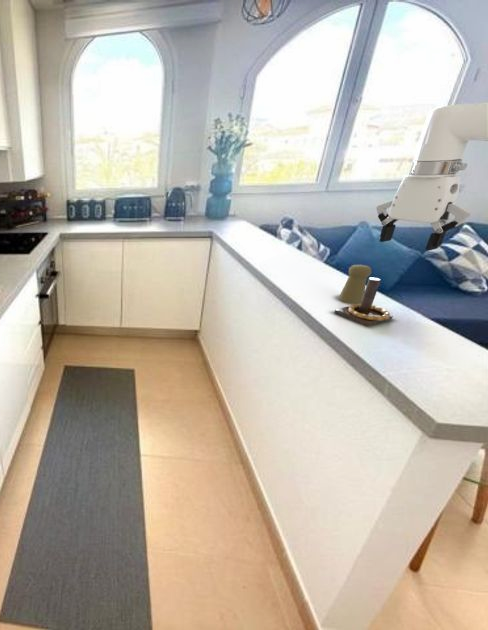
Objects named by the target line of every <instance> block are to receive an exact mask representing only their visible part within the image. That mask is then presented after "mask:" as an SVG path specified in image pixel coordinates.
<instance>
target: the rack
mask: <svg viewBox="0 0 488 630" xmlns="http://www.w3.org/2000/svg"><path fill="white" fill-rule="evenodd" d="M380 283H381V279H380V278H378V277H369V278H368V279H367V282H366V286H365V292H364V295H363V298H362V301H361V303H360V307H359V308H357V309H354V310H355V311H356V312H359V313H362V314H365V315H370V316H383V314H382V313H380V312H377V311H375V310H370V309H371V306H373V303H374V301H375V297H376V295H377V292H378V290H379V287H380ZM349 306H350V305H348V306H344V307H340V308H336V309H335V310H334V314H336V315H338V316H340V317H343V318H345V319H347V320H349V321H353V322H355V323H358V324H359V325H360V324H361V325H363V326H365V327H371V326H374V325H377V324H381V323H385V322H389V321H392V319H393V317H394V316H393V315H391V314H390V317H389V319H386V320H382V321H377V320H367V319H362V318H359V317H357V316H354V315H352V314H351V313H350V312H349V311H348V309H349Z"/></svg>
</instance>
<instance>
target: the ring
mask: <svg viewBox="0 0 488 630" xmlns="http://www.w3.org/2000/svg"><path fill="white" fill-rule="evenodd" d="M360 304H361V303H360ZM360 304H351V305H348V306H349V309H348V311H349V312H350V313H351V314H352V315H354V316H357V317H359V318H362V319H367V320H377V321H382V320H386V319H389V317H390V315H391V313H390V312H389V311H388V310H386V309H385V308H382V307H379V306H376V305H372V306H371V309H370V310H375V311H377V312H380V313H382V314H383V316H370V315H365V314H362V313H359V312H356V311H355V310H354V309H357V308H359V307H360Z"/></svg>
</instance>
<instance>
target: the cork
mask: <svg viewBox="0 0 488 630" xmlns="http://www.w3.org/2000/svg"><path fill="white" fill-rule="evenodd" d="M371 274H372V268H371V267H370V266H368V265H364V264H353V265H351V266H350V267H349V268H348V275H349V276H348V277H347V280H346V282H345V284H344V286H343V287H342V290H341V291H340V294H339V295H338V300H339V301H340V302H343V303H347V304H351V305H355V304H361V301H362V298H363V295H364V292H365V289H366V286H367V281H368V277H369V278H370V276H371Z"/></svg>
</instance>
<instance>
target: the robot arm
mask: <svg viewBox="0 0 488 630" xmlns="http://www.w3.org/2000/svg"><path fill="white" fill-rule="evenodd" d="M469 141H478V142H479V141H481V142H483V141H484V142H488V101H486V102H480V103H475V102H474V103H473V102H471V103H470V102H469V103H458V104H449V105H441V106H437V107H435V108H433V109H431V110H430V111H429V113H428V115H427V116H426V119H425V123H424V125H423V128H422V132H421V135H420V138H419V141H418V144H417V147H416V151H415V152H414V153H415V154H414V156H413V161H412V163H411V167H410V169H409V173H408V175H404V177H403V179H402V181H401V183H400V184H399V186H398V188H397V190H396V192H395V194H394V197H393V200H391V201H388V202H385V203H382V204H379V205H377V206H376V211H377V218H378V219H379V221H380V222H381V223H380V225H381V226H382V228H381V232H380V234H379V237H380V238H379V242H381V243H384V242H385V243H386V242H389V241H391V240H392V239H393V236H394V232H395V229H396V224H395V223H397V221H405V222H412V223H413V222H414V223H421V224H423V223H424V224H430V225H431V226H432V229H433V230H434V232H431V234H430V236H429V238H428V240H427V243H426V245H425V250H426V251H433V250H437V249H439V248H440V247H441V246H442V244H443V242H444V239H445V237H446V233H448V232H450V231H451V230H453V229H456V228H457V227H459V226H461V224H462V223H464V221H465V220H467V219H468V218H469V217H470V215H471V214H470V213H469V212H468V211H466V210H464V209H462V208H460V207H459V206H457V205H456V204H457V200H458V197H459V192H460V185H461V175H460V174H458V173H459V171H465V170H466V169H467V167H468V163H467V162H466V163H463V159H462V158H463V156H464V153H465V150H466V148H467V145H468V143H469ZM388 209H389V212H387V210H388ZM452 216H454V218H453V220H451V221H450V222H448V221H449V220H450V219H451V218H452Z"/></svg>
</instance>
